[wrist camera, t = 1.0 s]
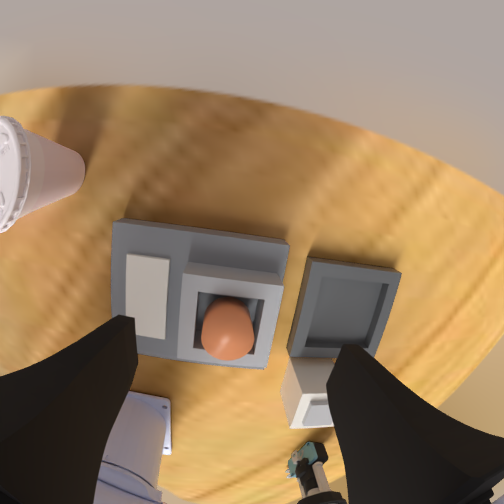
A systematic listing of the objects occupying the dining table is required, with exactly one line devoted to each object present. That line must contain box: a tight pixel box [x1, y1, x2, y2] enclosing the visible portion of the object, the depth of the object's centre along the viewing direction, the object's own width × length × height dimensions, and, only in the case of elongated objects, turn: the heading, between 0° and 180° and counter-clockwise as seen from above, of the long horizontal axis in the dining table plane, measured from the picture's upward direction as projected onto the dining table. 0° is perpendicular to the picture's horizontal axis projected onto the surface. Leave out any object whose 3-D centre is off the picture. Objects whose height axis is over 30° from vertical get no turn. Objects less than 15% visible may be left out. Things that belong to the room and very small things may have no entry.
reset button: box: [201, 297, 254, 361], centre depth 17 cm, size 3×3×3 cm
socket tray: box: [286, 256, 402, 358], centre depth 22 cm, size 8×8×1 cm
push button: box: [285, 442, 347, 504], centre depth 23 cm, size 7×5×10 cm
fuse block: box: [280, 357, 334, 429], centre depth 22 cm, size 4×4×6 cm
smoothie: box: [0, 116, 85, 233], centre depth 12 cm, size 6×6×14 cm
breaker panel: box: [111, 218, 290, 370], centre depth 19 cm, size 10×12×4 cm
